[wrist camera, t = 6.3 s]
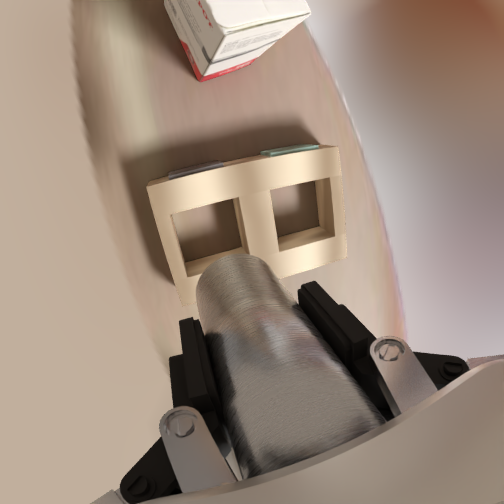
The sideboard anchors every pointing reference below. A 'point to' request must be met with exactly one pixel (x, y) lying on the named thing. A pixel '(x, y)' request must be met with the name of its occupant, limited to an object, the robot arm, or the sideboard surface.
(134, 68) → the sideboard surface
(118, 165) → the sideboard surface
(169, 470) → the robot arm
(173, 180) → the socket block
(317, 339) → the peg
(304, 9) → the ink box
